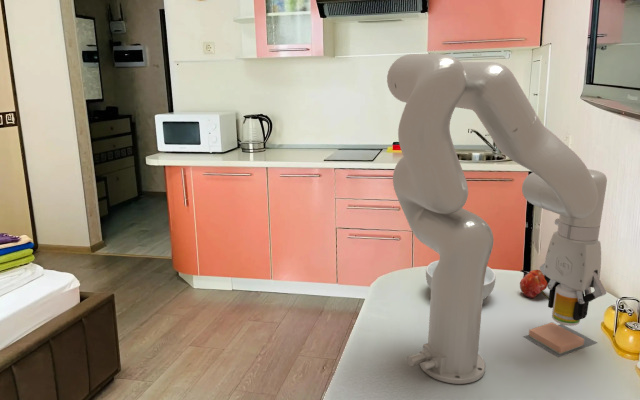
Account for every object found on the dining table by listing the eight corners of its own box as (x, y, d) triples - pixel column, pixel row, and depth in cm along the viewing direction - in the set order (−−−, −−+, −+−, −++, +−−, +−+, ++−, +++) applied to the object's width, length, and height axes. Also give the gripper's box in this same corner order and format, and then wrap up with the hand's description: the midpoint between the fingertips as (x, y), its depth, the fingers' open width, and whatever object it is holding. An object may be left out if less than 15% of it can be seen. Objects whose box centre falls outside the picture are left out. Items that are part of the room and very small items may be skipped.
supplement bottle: (582, 327, 109) (589, 284, 106) (554, 325, 110) (560, 281, 107) (575, 315, 114) (582, 273, 111) (549, 313, 115) (554, 271, 112)
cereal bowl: (411, 289, 138) (413, 264, 136) (464, 278, 144) (465, 254, 142) (452, 318, 123) (453, 290, 121) (508, 305, 129) (511, 278, 127)
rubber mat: (557, 359, 106) (558, 357, 106) (522, 338, 114) (522, 336, 114) (597, 344, 112) (597, 342, 111) (561, 325, 119) (561, 323, 119)
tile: (583, 345, 110) (560, 354, 107) (551, 328, 117) (528, 336, 114) (584, 339, 110) (560, 347, 107) (552, 322, 117) (529, 329, 114)
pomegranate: (549, 302, 135) (522, 271, 139) (568, 288, 130) (539, 256, 134) (533, 314, 131) (506, 281, 135) (552, 299, 126) (523, 266, 130)
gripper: (530, 221, 112) (521, 299, 117) (605, 247, 98) (591, 335, 102) (555, 217, 116) (545, 293, 120) (630, 241, 101) (615, 326, 106)
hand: (566, 311), depth 111 cm, fingers closed on supplement bottle, 5 cm apart
